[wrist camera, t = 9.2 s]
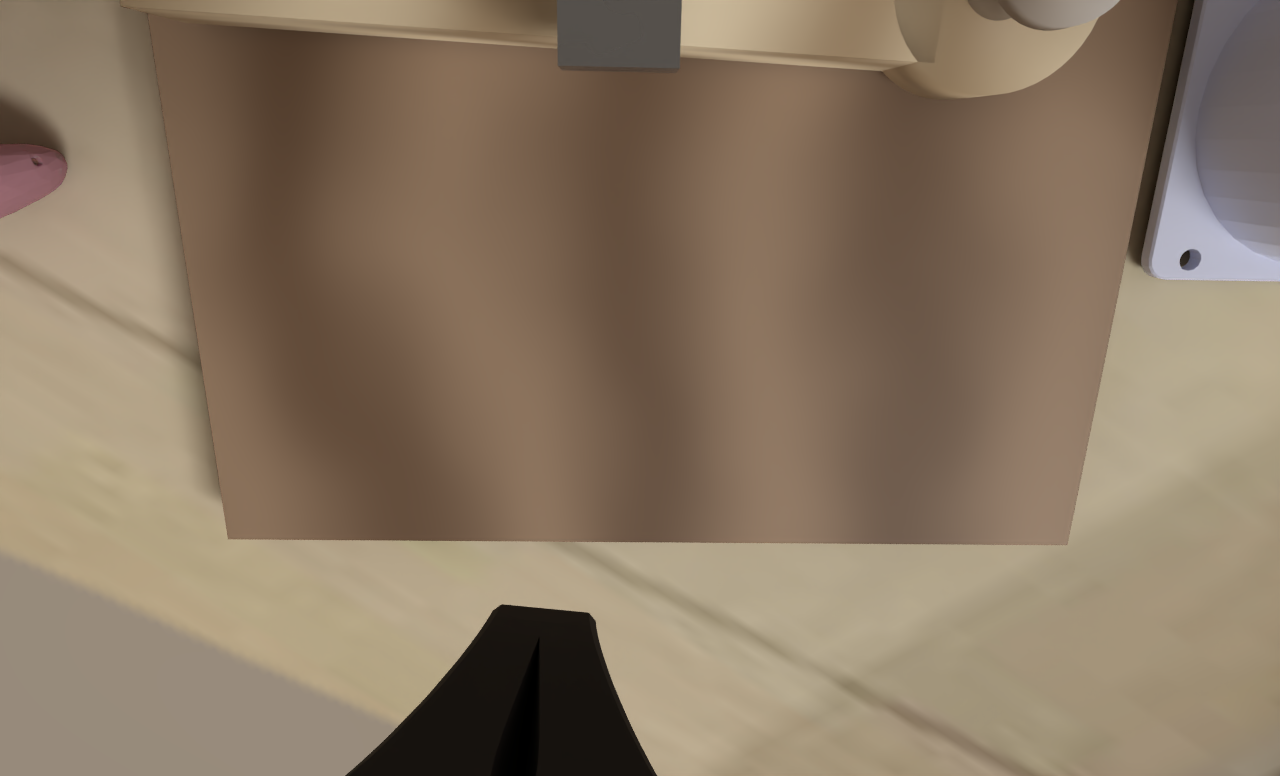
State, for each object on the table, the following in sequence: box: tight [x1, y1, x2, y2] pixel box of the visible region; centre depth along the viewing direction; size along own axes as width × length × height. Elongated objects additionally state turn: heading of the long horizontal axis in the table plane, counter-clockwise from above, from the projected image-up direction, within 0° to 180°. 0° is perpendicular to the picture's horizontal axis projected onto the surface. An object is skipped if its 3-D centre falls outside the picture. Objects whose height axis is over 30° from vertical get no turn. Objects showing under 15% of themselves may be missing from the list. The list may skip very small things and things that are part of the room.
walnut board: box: [147, 0, 1178, 545], centre depth 18 cm, size 22×23×1 cm
